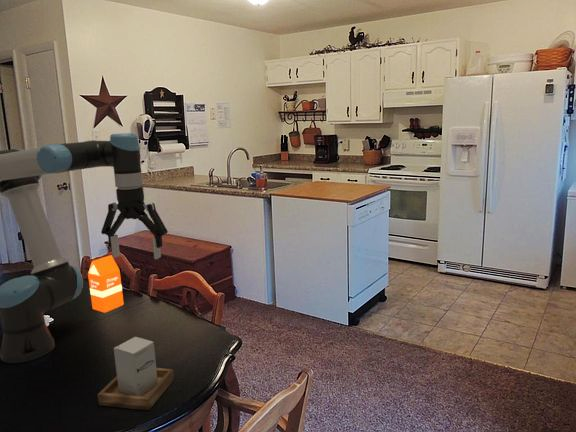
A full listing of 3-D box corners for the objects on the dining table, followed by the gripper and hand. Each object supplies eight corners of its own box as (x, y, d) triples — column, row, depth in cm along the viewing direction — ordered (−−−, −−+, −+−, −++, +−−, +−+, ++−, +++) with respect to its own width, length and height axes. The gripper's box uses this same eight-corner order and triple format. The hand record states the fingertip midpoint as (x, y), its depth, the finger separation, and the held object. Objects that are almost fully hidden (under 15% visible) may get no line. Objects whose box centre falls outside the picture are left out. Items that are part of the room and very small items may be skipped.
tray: (98, 405, 116) (97, 394, 116) (128, 375, 130) (127, 365, 129) (149, 410, 113) (147, 399, 113) (174, 379, 127) (173, 369, 126)
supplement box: (137, 399, 116) (132, 354, 114) (118, 391, 120) (112, 347, 118) (159, 384, 123) (154, 341, 120) (139, 377, 126) (134, 335, 124)
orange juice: (124, 304, 181) (118, 256, 176) (104, 312, 173) (98, 262, 169) (111, 301, 185) (105, 253, 181) (92, 308, 177) (85, 259, 173)
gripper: (175, 185, 134) (180, 254, 138) (98, 185, 139) (106, 252, 143) (163, 189, 127) (169, 262, 131) (83, 189, 132) (92, 259, 136)
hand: (136, 257), depth 137 cm, fingers open, 13 cm apart
